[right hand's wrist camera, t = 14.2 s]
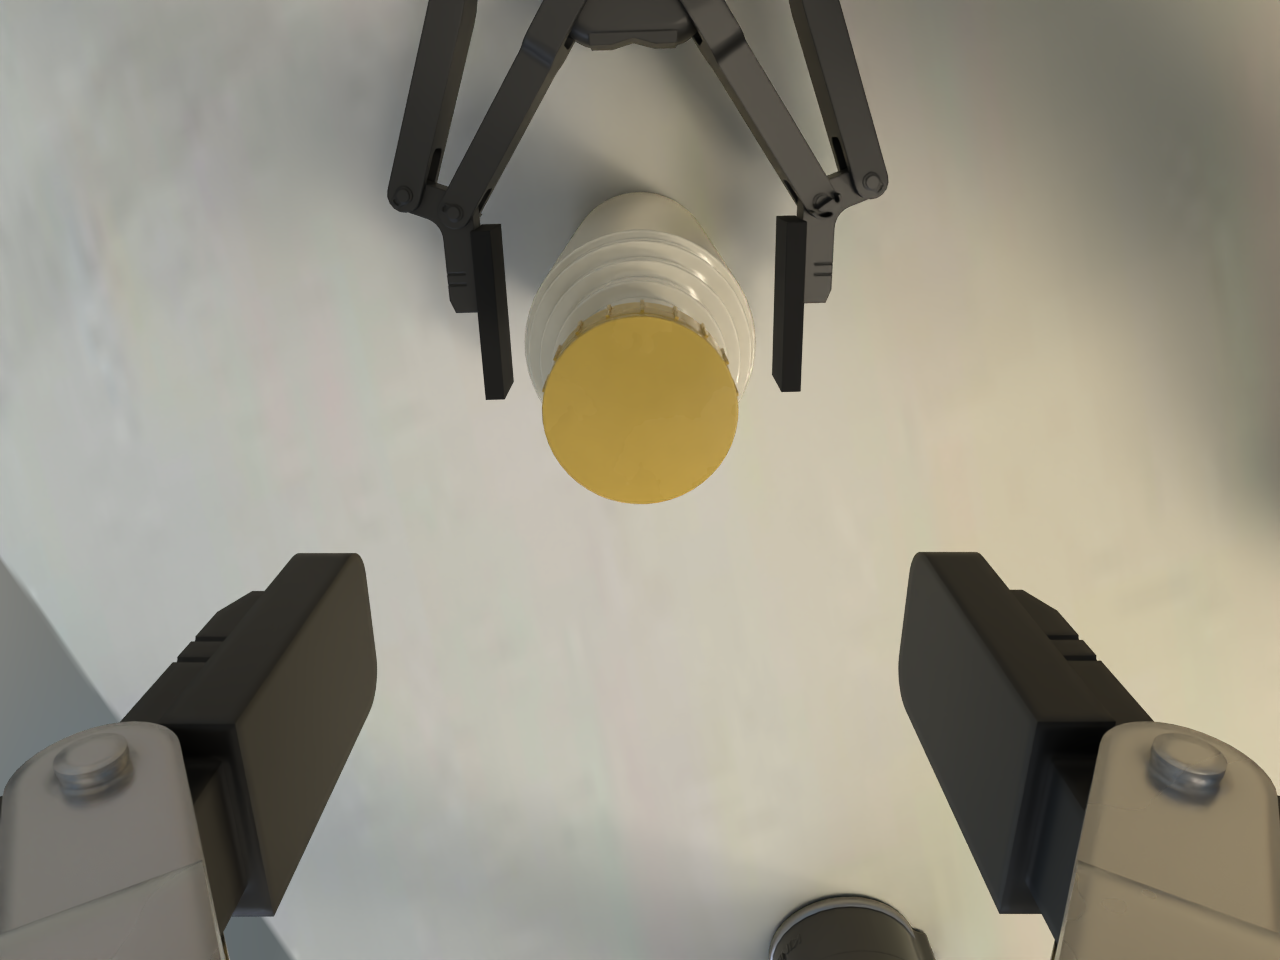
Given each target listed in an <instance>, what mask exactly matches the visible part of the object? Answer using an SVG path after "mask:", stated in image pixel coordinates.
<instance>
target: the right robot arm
mask: <svg viewBox="0 0 1280 960" xmlns="http://www.w3.org/2000/svg"><path fill="white" fill-rule="evenodd" d="M177 658H178V660H177V662H173V663H172V664H171V665H170V666H169V667H168V668H167V669H166V671H165V672H164V673H163V674H162V675H161V676H160V677H159V679H158V680H157V681H156V682H155V683H154V684H153V685H152V686H151V688H150V689H149V690H148V691H147V692H146V693H145V694H144V696H143V697H142V698H141V699H140V700H139V701H138V702H137V703H136V705H135V706H134V707H133V708H132V709H131V710H130V711H129V713H128V714H127V715H126V716H125V717H124V718H123V719H122V720H121V722H119V723H112V724H106V725H102V726H98V727H94V728H91V729H87V730H84V731H81V732H78V733H76V734H73V735H71V736H69V737H66V738H64V739H62V740H60V741H58V742H56V743H54V744H52V745H50V746H48V747H46V748H45V749H43V750H41V751H40V752H38V753H37V754H35V755H34V756H33V757H31V758H30V759H29V760H27V761H26V762H25V763H24V764H23V765H22V766H21V767H20V768H19V769H17V770H16V772H15V773H14V774H13V775H12V777H11V778H10V779H9V781H8V783H7V785H6V786H5V789H4V793H3V796H1V797H0V960H230V959H229V954H228V950H227V946H226V941H225V937H224V933H223V931H224V929H225V927H226V926H227V924H228V922H229V920H230V918H231V916H274V915H275V913H276V911H277V909H278V906H279V904H280V902H281V900H282V898H283V896H284V894H285V891H286V889H287V887H288V885H289V883H290V881H291V879H292V877H293V874H294V872H295V870H296V868H297V866H298V864H299V862H300V859H301V857H302V855H303V853H304V851H305V849H306V847H307V844H308V842H309V840H310V838H311V836H312V834H313V832H314V829H315V827H316V825H317V823H318V821H319V819H320V817H321V814H322V812H323V810H324V808H325V806H326V804H327V802H328V799H329V797H330V795H331V793H332V791H333V789H334V787H335V785H336V782H337V780H338V778H339V776H340V774H341V772H342V770H343V767H344V765H345V763H346V761H347V759H348V757H349V755H350V752H351V750H352V748H353V746H354V744H355V742H356V740H357V737H358V735H359V733H360V731H361V729H362V727H363V725H364V722H365V720H366V718H367V716H368V714H369V712H370V709H371V707H372V704H373V700H374V696H375V690H376V681H377V659H376V651H375V643H374V635H373V627H372V619H371V611H370V603H369V595H368V587H367V580H366V572H365V567H364V564H363V561H362V559H361V557H360V556H359V555H358V554H357V553H298V554H296V555H294V556H293V557H292V558H291V560H290V561H289V562H288V563H287V564H286V566H285V567H284V568H283V569H282V571H281V572H280V573H279V574H278V575H277V577H276V578H275V579H274V580H273V582H272V583H271V584H270V585H269V586H268V588H267V589H266V590H265V591H252V592H250V593H248V594H247V595H245V596H243V597H242V598H240V599H238V600H237V601H235V602H233V603H232V604H230V605H228V606H227V607H225V608H223V609H222V610H220V611H218V612H217V613H216V614H215V615H214V616H213V617H212V618H211V620H210V621H209V622H208V623H207V624H206V625H205V626H204V628H203V629H202V630H201V631H200V632H199V633H198V634H197V635H196V640H195V642H190V643H189V645H188V646H187V647H186V648H185V649H184V650H183V651H182V652H181V654H180V655H179V656H178V657H177ZM898 670H899V685H900V692H901V697H902V701H903V704H904V707H905V710H906V712H907V714H908V716H909V718H910V720H911V723H912V725H913V727H914V729H915V731H916V733H917V736H918V738H919V740H920V742H921V744H922V747H923V749H924V751H925V753H926V755H927V757H928V760H929V762H930V764H931V766H932V768H933V770H934V773H935V775H936V777H937V779H938V781H939V783H940V786H941V788H942V790H943V792H944V794H945V796H946V799H947V801H948V803H949V805H950V807H951V809H952V812H953V814H954V816H955V818H956V820H957V823H958V825H959V827H960V829H961V831H962V833H963V836H964V838H965V840H966V842H967V844H968V846H969V849H970V851H971V853H972V855H973V857H974V859H975V862H976V864H977V866H978V868H979V870H980V872H981V875H982V877H983V879H984V881H985V883H986V885H987V888H988V890H989V892H990V894H991V896H992V899H993V901H994V903H995V905H996V907H997V909H998V912H999V914H1042V915H1043V917H1044V919H1045V921H1046V923H1047V925H1048V927H1049V929H1050V931H1051V933H1052V935H1053V937H1054V939H1055V941H1054V946H1053V950H1052V954H1051V959H1050V960H1280V796H1277V793H1276V788H1275V786H1274V785H1273V783H1272V781H1271V779H1270V778H1269V777H1268V775H1267V774H1266V773H1265V772H1264V770H1263V769H1261V768H1260V767H1259V766H1258V765H1257V764H1256V763H1255V762H1254V761H1253V760H1251V759H1250V758H1249V757H1247V756H1246V755H1245V754H1243V753H1242V752H1240V751H1239V750H1237V749H1235V748H1234V747H1232V746H1230V745H1228V744H1226V743H1224V742H1222V741H1220V740H1218V739H1216V738H1214V737H1212V736H1209V735H1207V734H1204V733H1202V732H1199V731H1196V730H1193V729H1189V728H1186V727H1182V726H1178V725H1174V724H1168V723H1161V722H1154V721H1153V720H1152V719H1151V718H1150V716H1149V715H1148V714H1147V713H1146V712H1145V711H1144V710H1143V708H1142V707H1141V706H1140V705H1139V704H1138V703H1137V702H1136V700H1135V699H1134V698H1133V697H1132V696H1131V695H1130V694H1129V692H1128V691H1127V690H1126V689H1125V688H1124V687H1123V686H1122V684H1121V683H1120V682H1119V681H1118V680H1117V679H1116V677H1115V676H1114V675H1113V674H1112V673H1111V672H1110V671H1109V669H1108V668H1107V667H1106V666H1105V665H1104V664H1103V663H1102V661H1097V660H1096V655H1095V653H1094V652H1093V651H1092V650H1091V649H1090V648H1089V647H1088V645H1087V644H1086V643H1085V642H1084V641H1083V640H1079V638H1078V634H1077V633H1076V632H1075V631H1074V629H1073V628H1072V627H1071V626H1070V625H1069V624H1068V623H1067V621H1066V620H1065V619H1064V618H1063V617H1062V616H1061V615H1060V613H1059V612H1058V611H1057V610H1055V609H1053V608H1052V607H1050V606H1048V605H1047V604H1045V603H1043V602H1042V601H1040V600H1038V599H1037V598H1035V597H1033V596H1032V595H1030V594H1028V593H1027V592H1025V591H1023V590H1009V588H1008V587H1007V586H1006V585H1005V583H1004V582H1003V581H1002V580H1001V579H1000V577H999V576H998V575H997V574H996V572H995V571H994V570H993V569H992V567H991V566H990V565H989V564H988V562H987V561H986V560H985V559H984V557H983V556H982V555H981V554H980V553H978V552H918V553H917V554H916V555H915V556H914V558H913V560H912V563H911V567H910V573H909V581H908V589H907V597H906V605H905V613H904V621H903V629H902V637H901V645H900V653H899V667H898ZM769 960H935V958H934V955H933V952H932V949H931V947H930V944H929V941H928V938H927V935H926V934H925V933H922V932H918V931H915V930H913V929H912V928H911V926H910V924H909V923H908V922H907V920H906V919H905V918H904V917H903V916H902V915H901V914H900V913H899V912H897V911H896V910H895V909H893V908H891V907H890V906H888V905H886V904H883V903H881V902H878V901H875V900H872V899H867V898H861V897H836V898H830V899H825V900H821V901H818V902H815V903H812V904H810V905H808V906H806V907H804V908H802V909H800V910H798V911H797V912H795V913H794V914H792V915H791V916H790V917H789V918H787V919H786V920H785V921H784V922H783V923H782V925H781V926H780V927H779V928H778V930H777V931H776V933H775V935H774V937H773V939H772V941H771V945H770V950H769Z"/></svg>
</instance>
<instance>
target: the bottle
mask: <svg viewBox="0 0 1280 960" xmlns="http://www.w3.org/2000/svg"><path fill="white" fill-rule="evenodd" d="M640 300H644V302H648V303H656V304H661V305H665V306H668V307H672V308H673V306H676V307H677V310H679V311H681V312H683V313H685V314H687V315H688V316H690V317H692V318H693V319H694V320H696V321H697V322H698V323H700V324H701V323H704V324H705V327H706V330H707V331H708V332H709V333H710V334H711V335H712V337H713V338H714V340H715V341H716V342H717V344H718V345H719V347H720V349H722V348H723V349H724V351H725V353H726V356H727V359H728V361H729V364H728V368H729V370H730V373H731V376H732V378H733V380H734V382H735V385H736V388H737V390H738V393H739V396H737V398H738V403H739V401H740V399H741V398H742V396H743V394H744V391H745V389H746V387H747V385H748V382H749V379H750V376H751V373H752V369H753V364H754V358H755V343H756V340H755V328H754V322H753V318H752V314H751V310H750V307H749V305H748V302H747V299H746V297H745V295H744V293H743V291H742V289H741V287H740V285H739V284H738V282H737V280H736V279H735V277H734V276H733V274H732V273H731V271H730V270H729V268H728V267H727V265H726V264H725V262H724V261H723V259H722V258H721V256H720V255H719V253H718V251H717V250H716V248H715V247H714V245H713V244H712V242H711V241H710V239H709V238H708V236H707V235H706V233H705V232H704V230H703V229H702V227H701V225H700V224H699V223H698V221H697V220H696V219H695V217H694V216H693V215H692V214H691V213H690V212H689V211H688V210H687V209H685V208H684V207H683V206H682V205H680V204H679V203H677V202H676V201H674V200H672V199H670V198H667V197H665V196H662V195H659V194H655V193H649V192H631V193H625V194H621V195H618V196H615V197H613V198H610V199H608V200H606V201H605V202H603V203H601V204H600V205H598V206H597V207H596V208H595V209H594V210H592V211H591V212H590V213H589V214H588V215H587V217H586V218H585V219H584V220H583V222H582V223H581V224H580V226H579V227H578V229H577V230H576V232H575V233H574V235H573V237H572V238H571V240H570V241H569V243H568V244H567V246H566V247H565V249H564V250H563V252H562V253H561V255H560V256H559V258H558V260H557V261H556V263H555V264H554V266H553V267H552V269H551V270H550V272H549V273H548V275H547V276H546V278H545V279H544V281H543V283H542V284H541V286H540V288H539V290H538V292H537V294H536V295H535V297H534V300H533V303H532V306H531V308H530V311H529V315H528V320H527V324H526V332H525V356H526V362H527V367H528V372H529V375H530V378H531V381H532V384H533V386H534V389H535V391H536V393H537V395H538V397H539V399H540V400H541V402H542V403H543V394H544V392H542V389H543V386H544V384H545V381H546V378H547V376H548V374H550V371H551V369H552V366H553V364H554V360H553V358H554V356H555V353H556V351H557V348H558V346H559V345H561V346H562V344H563V343H564V341H565V340H566V339H567V337H568V336H569V335H570V334H571V332H572V331H573V330H574V329H575V328H576V327H577V325H578V322H579V321H580V320H582V321H585V320H586V319H587V318H589V317H590V316H592V315H594V314H596V313H597V312H599V311H602V310H604V309H606V308H607V305H610V304H611V307H612V306H616V305H619V304H625V303H632V302H640Z"/></svg>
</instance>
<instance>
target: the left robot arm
mask: <svg viewBox="0 0 1280 960" xmlns="http://www.w3.org/2000/svg"><path fill="white" fill-rule="evenodd" d="M789 4H790V8H791V12H792V16H793V20H794V23H795V27H796V30H797V33H798V37H799V40H800V43H801V47H802V50H803V54H804V57H805V60H806V64H807V67H808V70H809V74H810V77H811V81H812V84H813V87H814V91H815V94H816V97H817V101H818V104H819V108H820V111H821V114H822V118H823V121H824V125H825V128H826V131H827V135H828V138H829V141H830V145H831V148H832V152H833V155H834V158H835V162H836V165H837V168H838V172H835V173H833V174H830V175H828V176H826V174H825V172H824V171H823V169H822V167H821V166H820V164H819V162H818V161H817V159H816V157H815V156H814V154H813V152H812V151H811V149H810V147H809V146H808V144H807V142H806V141H805V139H804V137H803V136H802V134H801V132H800V131H799V129H798V127H797V126H796V124H795V122H794V121H793V119H792V117H791V116H790V114H789V112H788V111H787V109H786V107H785V105H784V104H783V102H782V100H781V99H780V97H779V95H778V94H777V92H776V90H775V89H774V87H773V85H772V84H771V82H770V80H769V79H768V77H767V75H766V74H765V72H764V70H763V69H762V67H761V65H760V64H759V62H758V60H757V59H756V57H755V55H754V54H753V52H752V50H751V49H750V47H749V45H748V43H747V42H746V40H745V37H744V34H743V32H742V30H741V28H740V26H739V24H738V23H737V21H736V19H735V18H734V16H733V14H732V13H731V11H730V9H729V8H728V6H727V4H726V3H725V1H724V0H543V2H542V4H541V6H540V8H539V9H538V11H537V13H536V15H535V17H534V19H533V21H532V23H531V25H530V27H529V29H528V31H527V33H526V35H525V37H524V39H523V43H522V46H521V48H520V51H519V53H518V55H517V56H516V58H515V60H514V62H513V64H512V66H511V68H510V70H509V72H508V74H507V76H506V77H505V79H504V81H503V83H502V85H501V87H500V89H499V91H498V93H497V95H496V97H495V99H494V100H493V102H492V104H491V106H490V108H489V110H488V112H487V114H486V116H485V118H484V120H483V122H482V123H481V125H480V127H479V129H478V131H477V133H476V135H475V137H474V139H473V141H472V143H471V144H470V146H469V148H468V150H467V152H466V154H465V156H464V158H463V160H462V162H461V164H460V166H459V167H458V169H457V171H456V173H455V175H454V177H453V179H452V181H451V183H450V185H449V187H447V186H444V185H441V184H438V183H437V180H438V176H439V172H440V168H441V163H442V159H443V155H444V151H445V146H446V142H447V138H448V134H449V129H450V125H451V121H452V117H453V113H454V108H455V104H456V100H457V96H458V91H459V87H460V83H461V79H462V74H463V70H464V66H465V62H466V58H467V53H468V49H469V45H470V41H471V36H472V32H473V28H474V23H475V17H476V12H477V0H429V2H428V7H427V11H426V16H425V21H424V25H423V30H422V34H421V39H420V44H419V48H418V53H417V57H416V62H415V67H414V71H413V76H412V80H411V85H410V90H409V94H408V99H407V103H406V108H405V113H404V117H403V122H402V126H401V131H400V135H399V140H398V145H397V149H396V154H395V158H394V163H393V168H392V172H391V177H390V181H389V186H388V193H387V197H388V200H389V203H390V204H391V205H392V207H393V208H394V209H396V210H398V211H399V212H405V213H407V212H409V213H412V214H415V215H418V216H420V217H423V218H426V219H429V220H431V221H433V222H434V223H435V224H436V225H437V226H438V227H439V228H440V230H441V232H442V235H443V240H444V249H445V259H446V268H447V278H448V285H449V286H448V287H449V297H450V302H451V304H452V305H453V307H454V309H455V311H456V313H472V312H478V321H479V332H480V343H481V353H482V364H483V374H484V385H485V396H486V400H498V399H505V398H506V396H507V394H508V392H509V390H510V388H511V386H512V384H513V382H514V380H513V368H512V355H511V343H510V331H509V319H508V306H507V294H506V282H505V270H504V258H503V245H502V233H501V224H482V225H480V217H481V215H482V214H481V212H482V210H483V208H484V206H485V204H486V202H487V201H488V199H489V197H490V195H491V193H492V191H493V190H494V188H495V186H496V184H497V182H498V180H499V178H500V177H501V175H502V173H503V171H504V169H505V167H506V165H507V164H508V162H509V160H510V158H511V156H512V154H513V153H514V151H515V149H516V147H517V145H518V143H519V141H520V140H521V138H522V136H523V134H524V132H525V130H526V128H527V127H528V125H529V123H530V121H531V119H532V117H533V116H534V114H535V112H536V110H537V108H538V106H539V104H540V103H541V101H542V99H543V97H544V95H545V93H546V91H547V90H548V88H549V86H550V84H551V82H552V80H553V79H554V77H555V75H556V73H557V72H558V70H559V69H560V67H561V66H562V64H563V63H564V61H565V59H566V57H567V56H568V54H569V52H570V50H571V48H572V46H573V45H574V43H575V41H576V42H578V43H579V44H581V45H583V46H585V47H588V48H591V49H592V51H593V50H614V49H617V48H620V47H623V46H626V45H629V44H632V43H636V44H640V45H643V46H647V47H651V48H655V49H658V48H676V46H677V45H679V44H682V43H684V42H686V41H687V40H689V39H690V38H691V37H692V39H693V40H694V42H695V44H696V45H697V47H698V48H699V50H700V52H701V53H702V55H703V56H704V58H705V59H706V61H707V62H708V64H709V65H710V66H711V67H712V69H713V70H714V72H715V73H716V75H717V77H718V78H719V80H720V82H721V83H722V85H723V86H724V88H725V90H726V91H727V93H728V95H729V96H730V98H731V99H732V101H733V103H734V104H735V106H736V108H737V109H738V111H739V112H740V114H741V116H742V117H743V119H744V121H745V122H746V124H747V125H748V127H749V129H750V130H751V132H752V133H753V135H754V137H755V138H756V140H757V142H758V143H759V145H760V146H761V148H762V150H763V151H764V153H765V155H766V156H767V158H768V159H769V161H770V163H771V164H772V166H773V168H774V169H775V171H776V172H777V174H778V176H779V177H780V179H781V181H782V182H783V184H784V185H785V187H786V189H787V190H788V192H789V194H790V195H791V197H792V198H793V200H794V202H795V203H796V205H797V216H777V217H776V253H775V289H774V326H773V362H772V375H773V377H774V379H775V381H776V383H777V385H778V386H779V388H780V390H781V392H799V391H801V365H802V340H803V315H804V303H825V302H826V300H827V298H828V296H829V293H830V291H831V284H832V262H833V245H834V227H835V222H836V219H837V217H838V216H839V214H840V213H841V212H842V211H843V210H844V209H846V208H848V207H850V206H852V205H855V204H857V203H860V202H862V201H865V200H867V199H874V198H877V197H879V196H881V195H882V194H883V193H884V191H885V190H886V188H887V185H888V175H887V171H886V167H885V164H884V160H883V157H882V153H881V149H880V146H879V142H878V139H877V135H876V131H875V128H874V124H873V120H872V117H871V113H870V110H869V106H868V102H867V99H866V95H865V92H864V88H863V84H862V81H861V77H860V74H859V70H858V66H857V63H856V59H855V56H854V52H853V48H852V45H851V41H850V38H849V34H848V30H847V27H846V23H845V19H844V16H843V12H842V9H841V5H840V1H839V0H789Z"/></svg>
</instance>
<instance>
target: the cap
mask: <svg viewBox="0 0 1280 960" xmlns="http://www.w3.org/2000/svg"><path fill="white" fill-rule="evenodd" d="M553 360H554V364H553V366H552V369H551V371H550V374H548V376H547V378H546V381H545V384H544V386H543V389H542V392H544V394H543V403H542V418H543V425H544V431H545V434H546V437H547V440H548V444H549V446H550V448H551V450H552V452H553V454H554V456H555V457H556V459H557V460H558V462H559V463H560V465H561V466H562V467H563V468H564V470H565V471H566V472H567V473H568V474H569V475H570V476H571V477H572V478H573V479H574V480H575V481H576V482H578V483H579V484H580V485H582V486H583V487H585V488H586V489H588V490H590V491H591V492H593V493H595V494H597V495H599V496H602V497H604V498H607V499H610V500H614V501H618V502H622V503H630V504H650V503H659V502H663V501H667V500H671V499H673V498H676V497H679V496H681V495H683V494H685V493H687V492H689V491H691V490H693V489H694V488H696V487H697V486H699V485H700V484H701V483H703V482H704V481H705V480H706V479H707V478H708V477H709V476H711V475H712V474H713V472H714V471H715V470H716V469H717V468H718V467H719V465H720V464H721V463H722V461H723V460H724V458H725V456H726V455H727V453H728V451H729V449H730V447H731V445H732V442H733V439H734V436H735V433H736V427H737V422H738V398H737V396H739V393H738V390H737V388H736V385H735V382H734V380H733V378H732V376H731V373H730V370H729V368H728V364H729V361H728V359H727V356H726V353H725V351H724V349H723V348H722V349H720V347H719V345H718V344H717V342H716V341H715V340H714V338H713V337H712V335H711V334H710V333H709V332H708V331H707V330H706V327H705V324H704V323H701V324H700V323H698V322H697V321H696V320H694V319H693V318H692V317H690V316H688V315H687V314H685V313H683V312H681V311H679V310H677V307H676V306H673V308H672V307H668V306H665V305H661V304H656V303H648V302H644V300H640V302H632V303H625V304H619V305H616V306H612V307H611V304H610V305H607V308H606V309H604V310H602V311H599V312H597V313H596V314H594V315H592V316H590V317H589V318H587V319H586V320H585V321H582V320H580V321H579V322H578V325H577V327H576V328H575V329H574V330H573V331H572V332H571V334H570V335H569V336H568V337H567V339H566V340H565V341H564V343H563V344H562V346H561V345H559V346H558V348H557V351H556V353H555V356H554V358H553Z"/></svg>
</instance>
